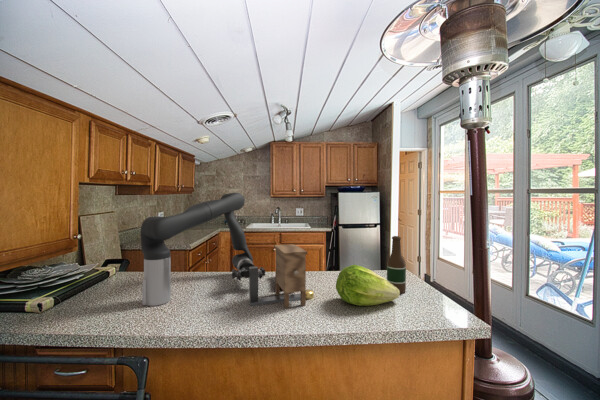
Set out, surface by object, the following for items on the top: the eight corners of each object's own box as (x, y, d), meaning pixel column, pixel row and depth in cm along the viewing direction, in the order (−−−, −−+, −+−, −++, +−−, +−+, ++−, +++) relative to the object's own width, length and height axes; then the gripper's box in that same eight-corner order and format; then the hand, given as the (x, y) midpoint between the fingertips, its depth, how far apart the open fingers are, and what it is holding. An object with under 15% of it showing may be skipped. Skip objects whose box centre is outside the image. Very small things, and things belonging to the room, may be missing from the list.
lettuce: (383, 305, 116) (397, 328, 100) (330, 286, 114) (335, 306, 99) (397, 274, 114) (413, 292, 98) (343, 254, 112) (350, 269, 97)
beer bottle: (386, 292, 117) (386, 237, 117) (387, 287, 125) (387, 234, 124) (405, 295, 114) (405, 238, 114) (405, 289, 122) (406, 235, 121)
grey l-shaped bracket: (250, 306, 103) (250, 269, 103) (249, 302, 107) (249, 266, 107) (303, 299, 109) (303, 264, 109) (300, 296, 113) (300, 262, 113)
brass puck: (303, 300, 109) (303, 294, 109) (300, 296, 114) (300, 290, 114) (315, 299, 110) (315, 292, 110) (311, 294, 115) (311, 289, 115)
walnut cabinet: (284, 309, 100) (284, 253, 99) (274, 293, 116) (274, 245, 116) (307, 306, 102) (308, 251, 102) (294, 291, 119) (294, 244, 119)
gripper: (230, 260, 127) (232, 269, 112) (261, 258, 131) (267, 267, 116) (230, 276, 127) (232, 287, 112) (261, 274, 131) (267, 284, 116)
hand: (250, 277), depth 114 cm, fingers open, 8 cm apart
